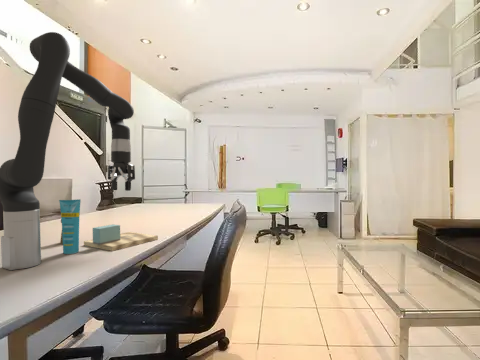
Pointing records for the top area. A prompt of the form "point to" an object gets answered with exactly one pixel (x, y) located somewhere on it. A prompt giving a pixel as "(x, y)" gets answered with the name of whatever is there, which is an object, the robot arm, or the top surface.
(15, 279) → the top surface
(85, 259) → the top surface
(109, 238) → the block
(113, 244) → the board
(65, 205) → the tube
